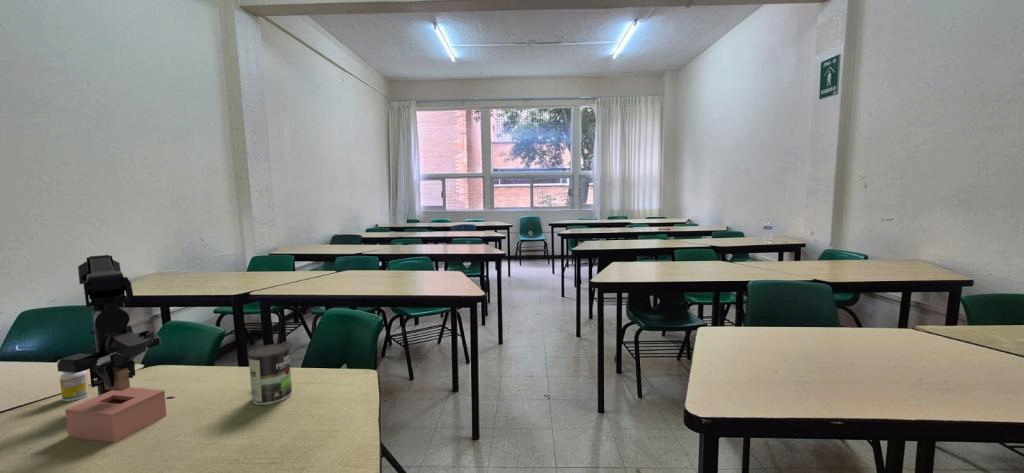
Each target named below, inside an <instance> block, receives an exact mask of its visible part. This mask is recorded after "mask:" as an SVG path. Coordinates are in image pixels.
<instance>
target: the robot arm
mask: <svg viewBox="0 0 1024 473" xmlns="http://www.w3.org/2000/svg"><path fill="white" fill-rule="evenodd" d="M121 270H122V269H121V264H120V262H118V261H116V260H114V259H113V256H112V255H109V254H103V255H91V256H88V257H86V261H84V262H83V263H82V264H80V265H78V266H77V271H78V281H79V282H78V283H79V285H83V286H82V287H83V291H84V299H85V306H86V308H91V307H92V308H91V313H92V321H93V322H92V324H93V329H90V330H89V332H90V333H89V335H92V336H94V339H95V340H94V341H95V345H94V346H91V351H92V352H93V353H77V354H73V355H69V356H67V357H63V358H61V359H60V360H59V361H58V362H57V371H58V372H62V373H63V372H72V373H77V372H82V371H87V370H88V371H89V380H90V384H91V385H90V386H91V388H95V387H97V396H99V395H102V394H104V393H107V392H109V391H112V390H105V386H104V381H105V383H106V384H107V385H108V386H109V387H113V386H114V375H113V367H117V368H128V373H129V379H133V378H134V377H135V376H136V362H135V360H134V359H136V358H137V356H139V355H142V353H143V354H144V353H145V352H147V348H148V349H149V348H150V349H151V348H153V347H157V346H159V345H161V337H160V336H159V335H158V334H155V333H154V331H153V330H150V329H146V330H142V331H141V332H136V333H135V332H134V331H133V327H132V325H129V323H130V319H131V318H130V315H129V313H128V312H127V310H126V307H125V302H131V301H132V298H133V297H134V292H133V288H132V287H133V286H132V282H131V280H130V279H129V277H127V276H124V274H123V272H122V271H121ZM90 300H91V301H90Z"/></svg>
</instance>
